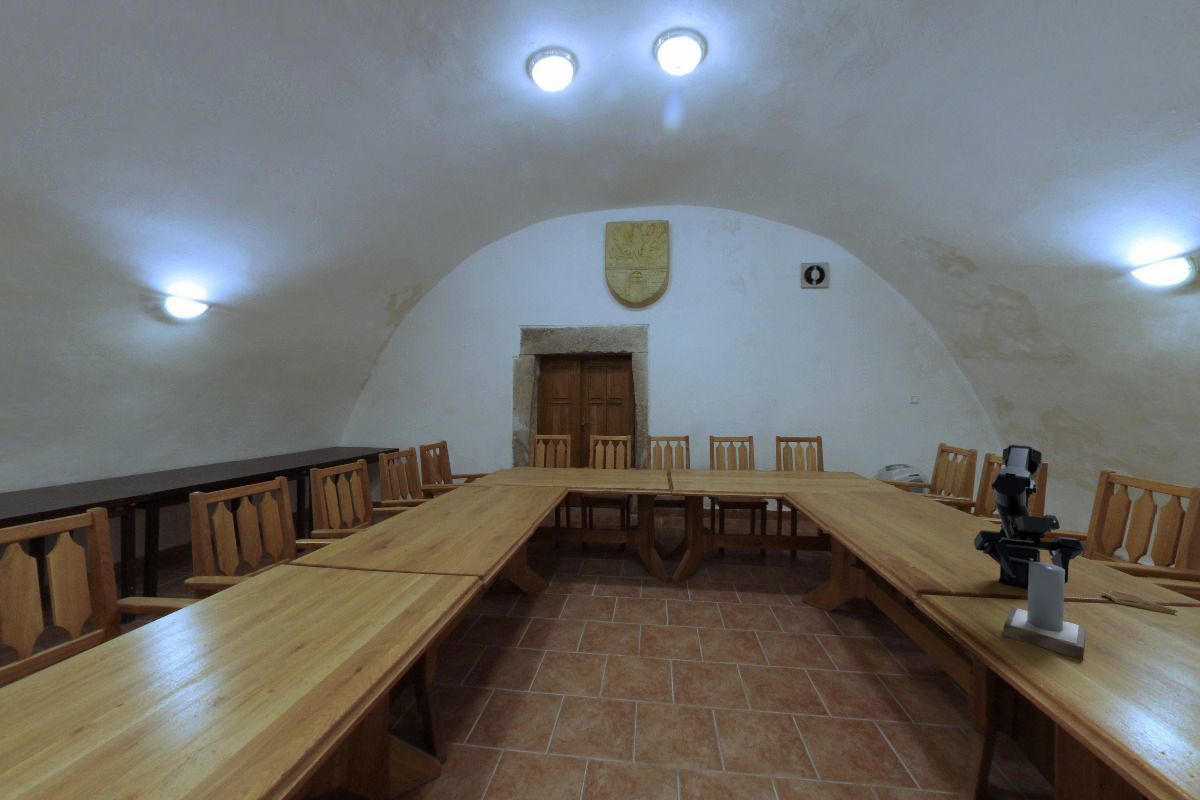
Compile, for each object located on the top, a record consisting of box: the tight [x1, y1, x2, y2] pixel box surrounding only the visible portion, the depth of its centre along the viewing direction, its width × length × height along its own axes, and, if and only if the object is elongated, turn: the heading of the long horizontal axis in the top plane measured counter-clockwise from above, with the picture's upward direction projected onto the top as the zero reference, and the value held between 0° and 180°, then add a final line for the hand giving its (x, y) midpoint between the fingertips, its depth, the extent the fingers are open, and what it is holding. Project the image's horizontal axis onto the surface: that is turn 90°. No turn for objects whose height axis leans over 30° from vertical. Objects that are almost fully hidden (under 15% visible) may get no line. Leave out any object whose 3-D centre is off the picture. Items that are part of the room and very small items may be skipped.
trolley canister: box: [1027, 561, 1066, 632], centre depth 99 cm, size 6×6×13 cm
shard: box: [1100, 590, 1179, 615], centre depth 114 cm, size 11×8×2 cm
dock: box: [1003, 606, 1086, 661], centre depth 99 cm, size 12×12×3 cm
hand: (1039, 579), depth 102 cm, fingers open, 9 cm apart
